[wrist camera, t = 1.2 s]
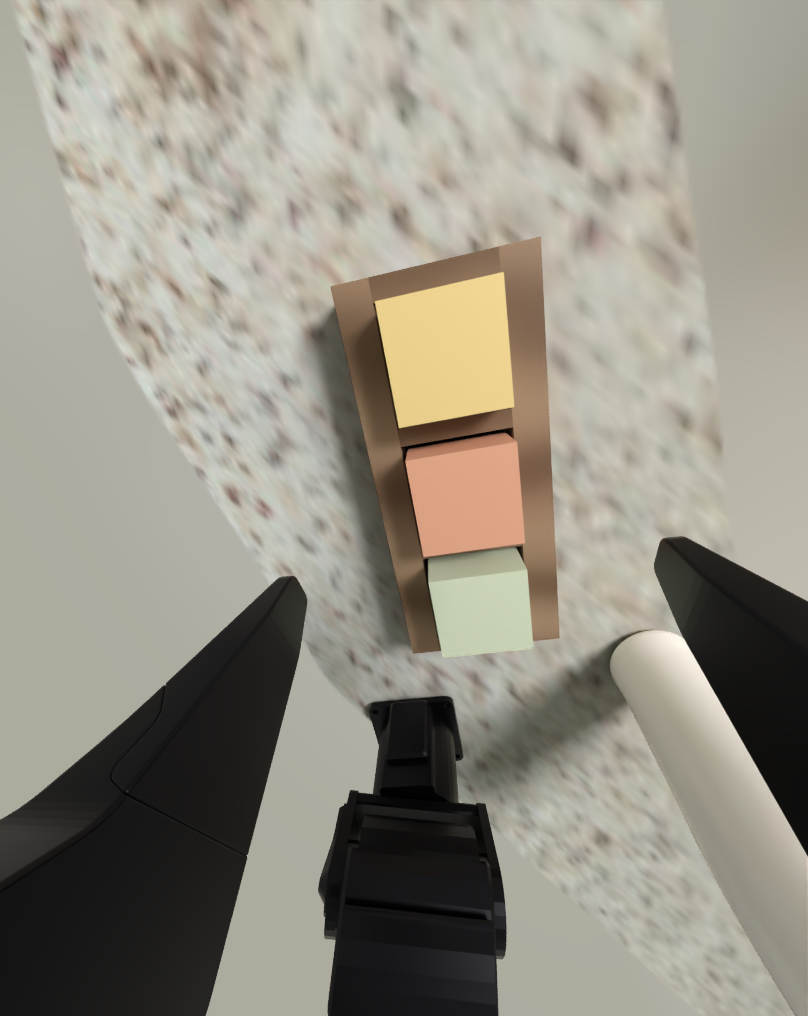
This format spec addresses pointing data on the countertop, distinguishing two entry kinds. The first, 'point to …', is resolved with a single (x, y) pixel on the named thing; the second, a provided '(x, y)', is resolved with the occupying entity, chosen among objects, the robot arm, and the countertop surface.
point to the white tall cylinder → (722, 802)
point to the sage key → (481, 602)
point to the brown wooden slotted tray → (458, 424)
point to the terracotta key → (467, 494)
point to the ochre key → (448, 350)
